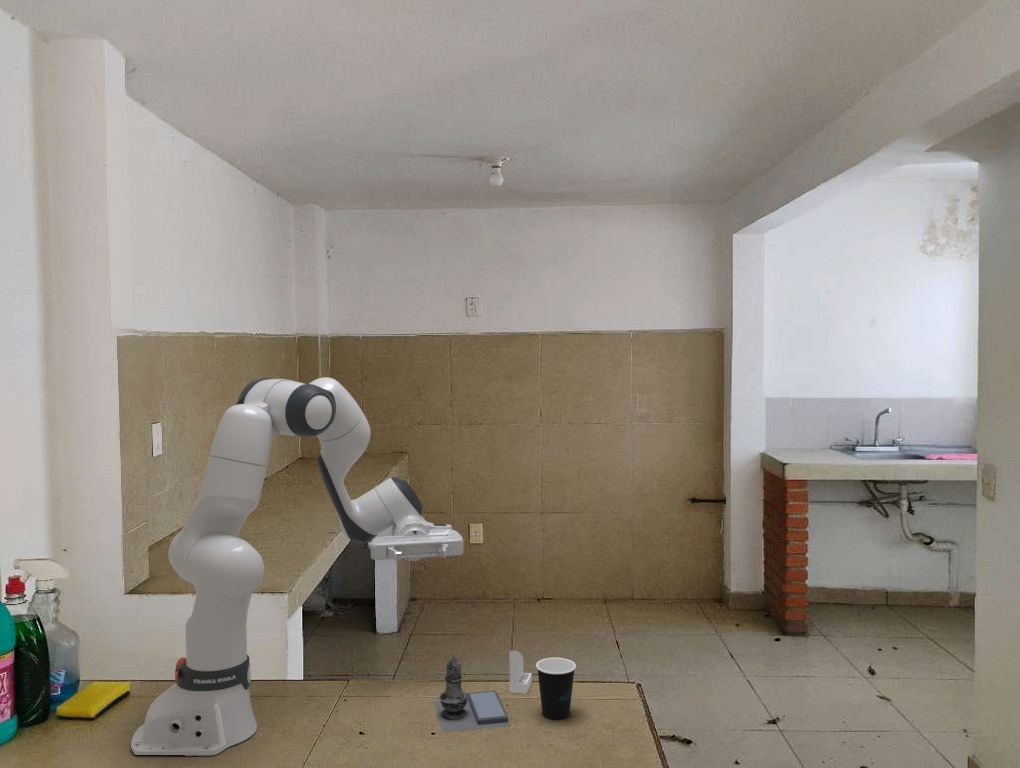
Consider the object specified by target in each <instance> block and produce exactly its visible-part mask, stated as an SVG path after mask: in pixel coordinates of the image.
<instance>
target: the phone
mask: <svg viewBox="0 0 1020 768" xmlns="http://www.w3.org/2000/svg"><path fill="white" fill-rule="evenodd" d="M466 693H467V694H468V696H469V698H468V700H469V703H470V705H471V708H472V711H473V713H474V716H475V719H476V721H477V724H478V725H483V724H493V723H503V722H509V716H508V714H507V712H506V710H505V708H504V705H503V703H502V701H501V699H500V697H499V695H498V692H497V691H496V690H485V691H476V692H466Z"/></svg>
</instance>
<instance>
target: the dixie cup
mask: <svg viewBox="0 0 1020 768" xmlns="http://www.w3.org/2000/svg"><path fill="white" fill-rule="evenodd" d="M535 667H536V669H537V677H538V685H539V686H538V687H539V694H540V695H539V697H540V704H541V713H542V716H543V717H545V718H546V719H549V720H555V721H559V720H565V719H566V718H568V717H570V715H571V714H570V713H571V712H570V711H571V704H572V694H573V687H574V677H575V669H576V667H577V665H576V663H575V662H574V661H573V660H570V659H567V658H563V657H547V658H542V659H539V660H538V661H537V662H536V664H535Z"/></svg>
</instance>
